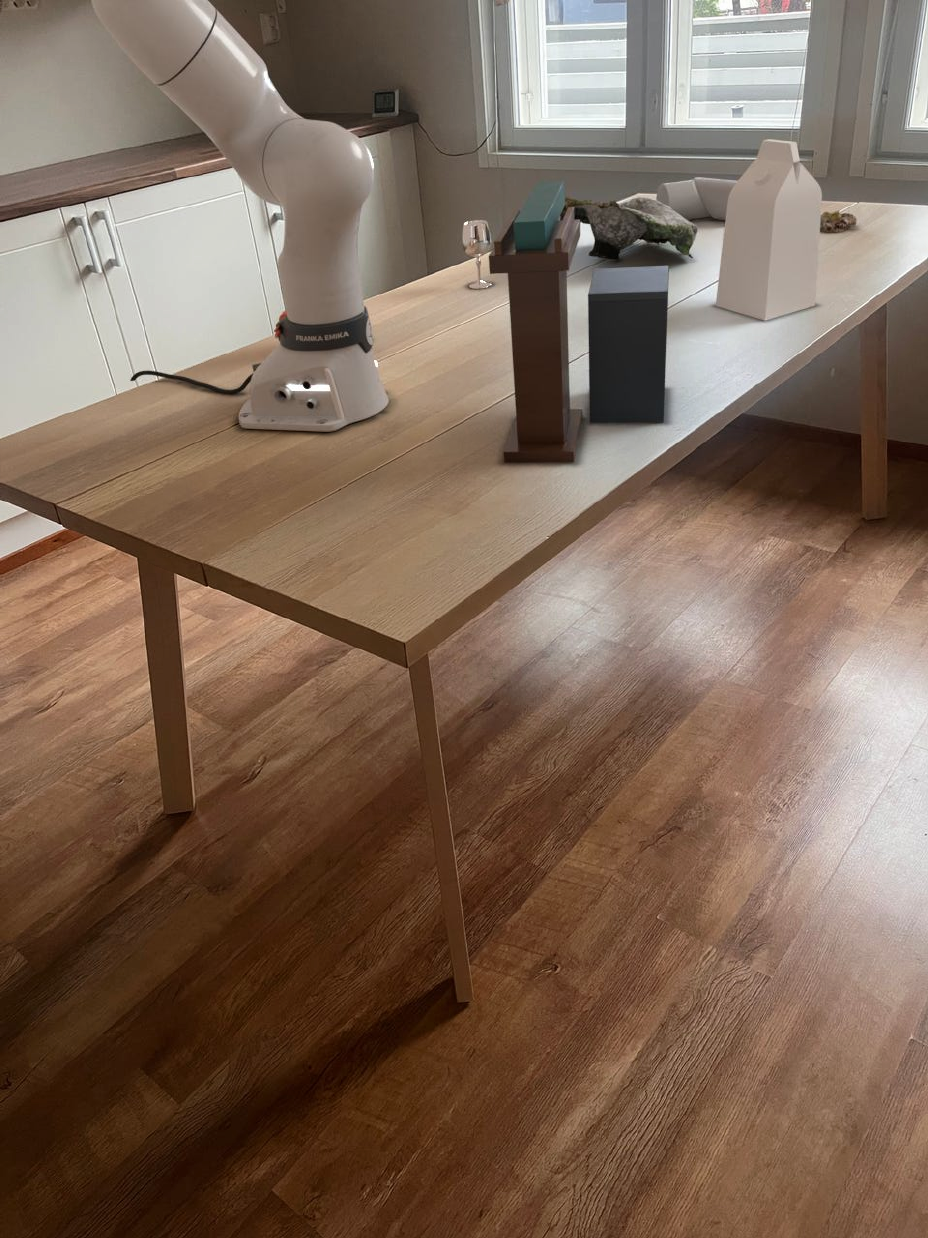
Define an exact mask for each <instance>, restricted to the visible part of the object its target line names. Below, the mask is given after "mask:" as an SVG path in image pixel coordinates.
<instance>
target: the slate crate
mask: <svg viewBox="0 0 928 1238" xmlns="http://www.w3.org/2000/svg"><path fill="white" fill-rule="evenodd" d="M669 273H670V266H669V265H656V266H652V265H651V266H631V267H630V266H629V267H628V266H627V267H604V268H594V270H593V274H592V277H591V278H592V279H591V282H590V286H589V289H588V293H587V313H588V314H587V321H588V322H587V327H588V330H587V331H588V382H589V383H588V396H589V399H588V401H589V406H588V407H589V424H617V423H618V424H619V423H620V424H621V423H624V424H625V423H628V424H629V423H631V424H632V423H633V424H634V423H635V424H636V423H664V422H665V399H666V398H665V397H666V371H667V369H666V367H667V342H668V341H667V338H668V310H669V309H668V308H669V276H670V274H669Z"/></svg>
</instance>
